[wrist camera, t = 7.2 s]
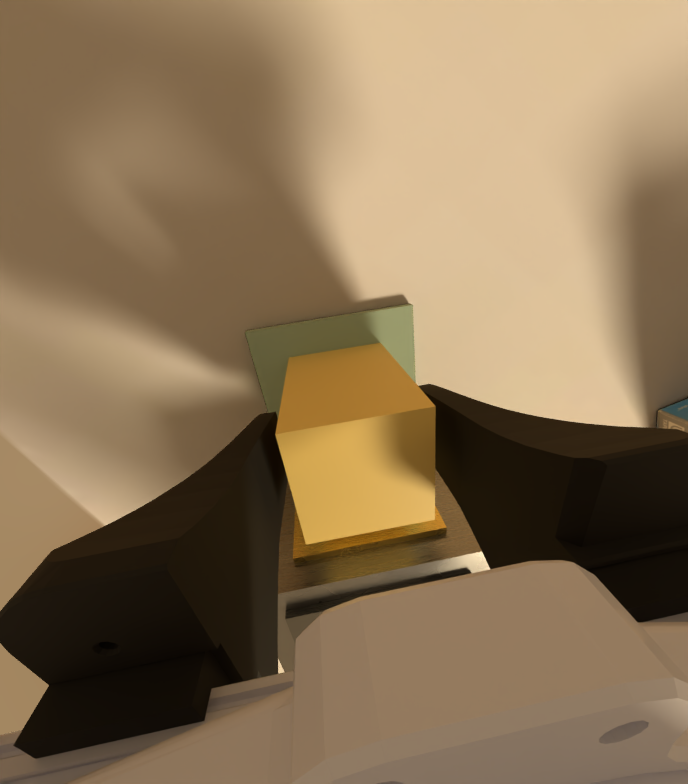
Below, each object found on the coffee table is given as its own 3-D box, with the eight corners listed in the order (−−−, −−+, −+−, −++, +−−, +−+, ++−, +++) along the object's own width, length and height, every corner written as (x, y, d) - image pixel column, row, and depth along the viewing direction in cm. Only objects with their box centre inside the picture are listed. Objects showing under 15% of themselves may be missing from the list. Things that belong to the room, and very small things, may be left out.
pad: (415, 438, 16) (417, 442, 15) (284, 462, 15) (284, 467, 15) (409, 303, 13) (412, 304, 12) (246, 330, 12) (244, 332, 12)
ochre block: (386, 420, 14) (435, 519, 9) (306, 434, 14) (306, 544, 9) (380, 342, 13) (435, 406, 7) (289, 357, 12) (275, 434, 7)
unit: (434, 536, 19) (488, 655, 13) (297, 564, 19) (293, 699, 13) (433, 445, 16) (504, 549, 10) (268, 476, 15) (246, 603, 10)
